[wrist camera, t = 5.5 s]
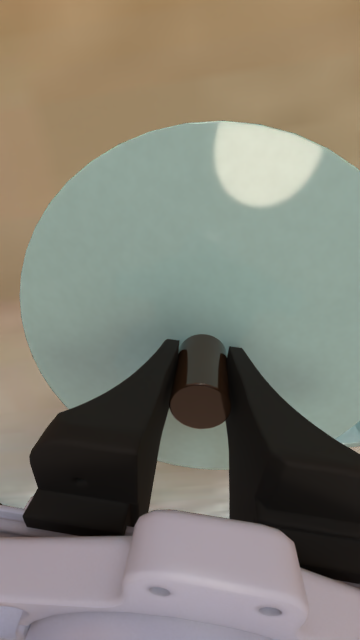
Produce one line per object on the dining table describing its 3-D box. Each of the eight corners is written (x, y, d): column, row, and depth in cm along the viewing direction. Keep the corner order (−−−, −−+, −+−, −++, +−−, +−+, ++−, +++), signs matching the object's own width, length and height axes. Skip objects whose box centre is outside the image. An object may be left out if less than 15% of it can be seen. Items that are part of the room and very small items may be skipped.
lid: (450, 390, 14) (553, 479, 10) (168, 481, 20) (158, 557, 16) (294, -32, 8) (392, -289, 3) (-35, 295, 14) (-136, 340, 10)
